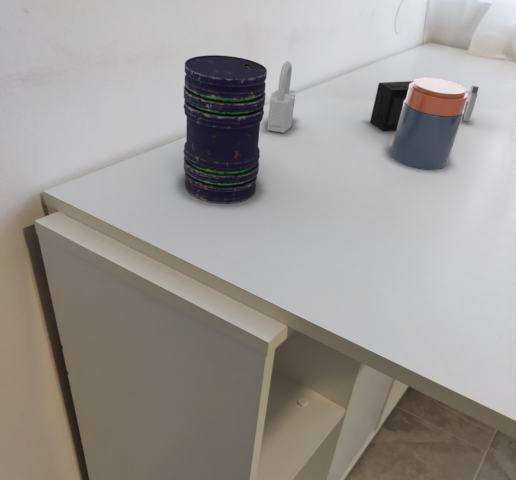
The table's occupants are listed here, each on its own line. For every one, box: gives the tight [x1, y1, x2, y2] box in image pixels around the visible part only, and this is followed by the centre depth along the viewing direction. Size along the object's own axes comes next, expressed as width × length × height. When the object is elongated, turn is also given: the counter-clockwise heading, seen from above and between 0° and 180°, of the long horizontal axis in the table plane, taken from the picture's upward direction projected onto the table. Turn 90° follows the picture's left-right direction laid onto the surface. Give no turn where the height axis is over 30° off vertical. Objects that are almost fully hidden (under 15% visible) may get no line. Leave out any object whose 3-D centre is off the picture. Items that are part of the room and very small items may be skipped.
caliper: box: [461, 85, 480, 122], centre depth 108 cm, size 20×1×6 cm, turn 171°
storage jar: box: [183, 54, 268, 204], centre depth 68 cm, size 10×10×15 cm
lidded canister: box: [389, 77, 468, 170], centre depth 83 cm, size 9×9×11 cm
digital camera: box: [369, 80, 414, 132], centre depth 95 cm, size 10×5×7 cm, turn 114°
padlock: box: [266, 61, 296, 134], centre depth 89 cm, size 7×4×10 cm, turn 166°
